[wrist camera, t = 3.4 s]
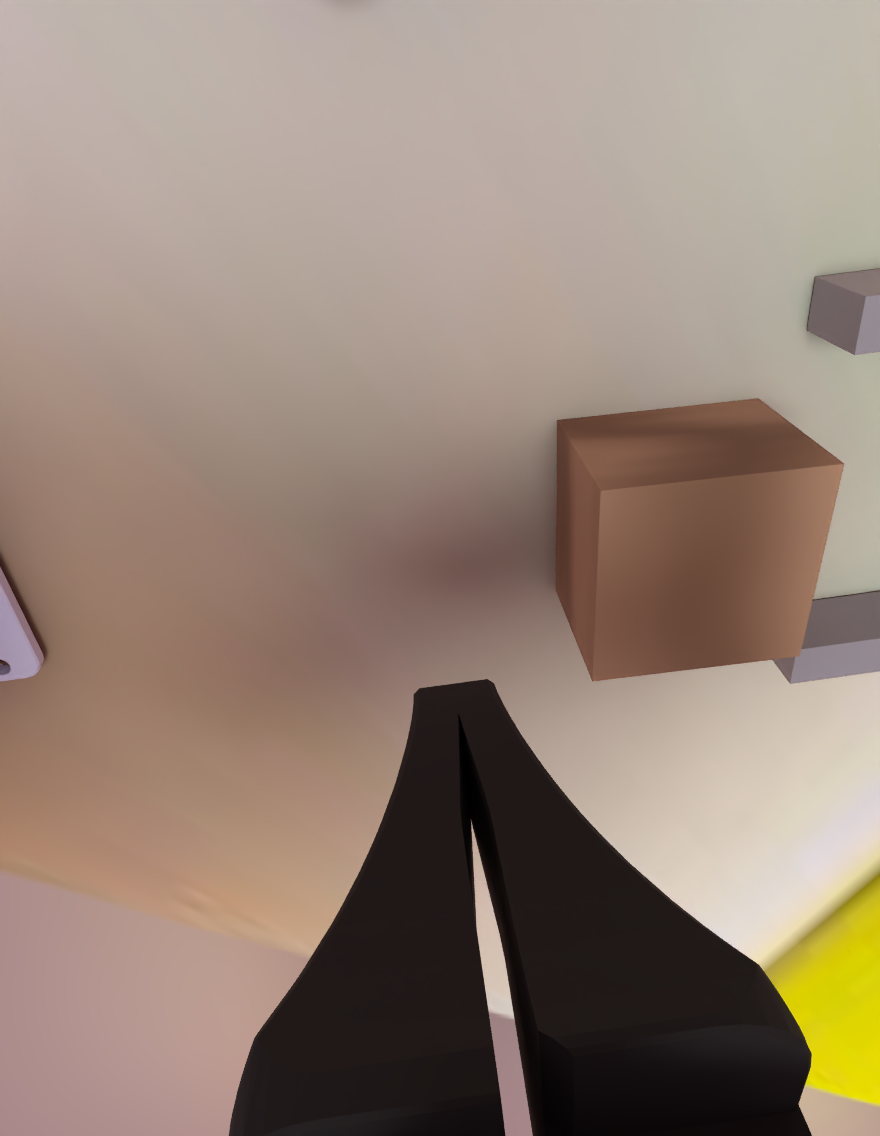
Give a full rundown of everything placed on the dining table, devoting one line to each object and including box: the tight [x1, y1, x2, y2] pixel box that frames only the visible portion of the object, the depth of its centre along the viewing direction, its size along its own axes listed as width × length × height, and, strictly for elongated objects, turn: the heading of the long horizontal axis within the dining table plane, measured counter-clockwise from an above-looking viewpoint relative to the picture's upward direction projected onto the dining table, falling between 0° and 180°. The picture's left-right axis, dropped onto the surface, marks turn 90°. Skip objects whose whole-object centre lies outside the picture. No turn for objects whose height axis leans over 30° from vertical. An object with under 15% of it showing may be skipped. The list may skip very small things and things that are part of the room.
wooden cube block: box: [556, 399, 844, 681], centre depth 18 cm, size 5×5×4 cm
